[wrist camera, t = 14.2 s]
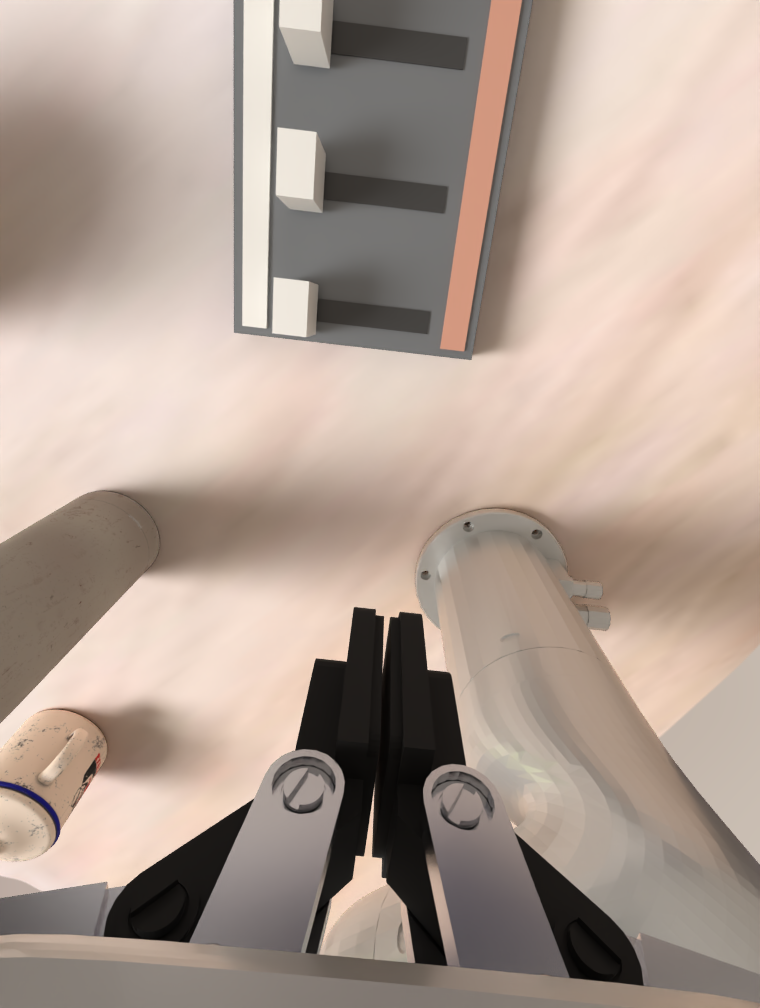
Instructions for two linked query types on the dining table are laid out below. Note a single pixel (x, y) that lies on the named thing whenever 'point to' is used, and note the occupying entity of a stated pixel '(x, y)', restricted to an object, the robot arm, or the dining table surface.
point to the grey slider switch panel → (372, 171)
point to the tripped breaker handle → (307, 30)
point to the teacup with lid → (45, 779)
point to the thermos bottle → (66, 583)
